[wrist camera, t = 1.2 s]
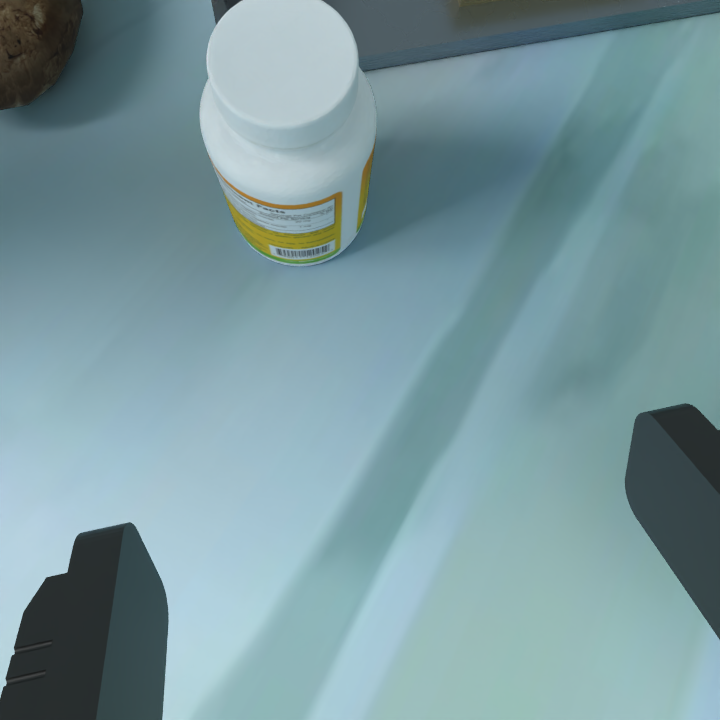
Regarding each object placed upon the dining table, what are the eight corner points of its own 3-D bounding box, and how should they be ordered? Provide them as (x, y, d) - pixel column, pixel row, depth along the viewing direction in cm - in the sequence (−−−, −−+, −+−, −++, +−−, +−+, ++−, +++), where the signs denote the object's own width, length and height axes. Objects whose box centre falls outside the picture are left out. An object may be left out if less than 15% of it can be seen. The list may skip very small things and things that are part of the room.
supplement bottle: (298, 118, 27) (281, -74, 18) (393, 204, 27) (428, 55, 17) (204, 206, 26) (132, 54, 17) (300, 296, 26) (283, 193, 16)
